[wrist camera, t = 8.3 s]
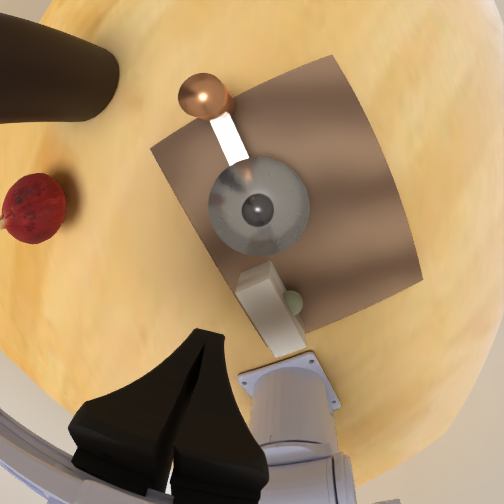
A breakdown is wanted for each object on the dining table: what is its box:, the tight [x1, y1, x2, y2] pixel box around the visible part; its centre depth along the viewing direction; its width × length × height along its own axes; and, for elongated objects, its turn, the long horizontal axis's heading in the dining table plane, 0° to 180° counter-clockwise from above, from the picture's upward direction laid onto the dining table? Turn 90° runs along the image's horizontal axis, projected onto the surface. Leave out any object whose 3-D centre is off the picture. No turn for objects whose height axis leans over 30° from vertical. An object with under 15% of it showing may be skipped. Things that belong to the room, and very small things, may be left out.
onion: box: [0, 173, 66, 244], centre depth 18 cm, size 6×6×8 cm
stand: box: [150, 55, 423, 358], centre depth 18 cm, size 18×14×4 cm
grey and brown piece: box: [178, 73, 310, 256], centre depth 16 cm, size 11×6×4 cm, turn 23°
